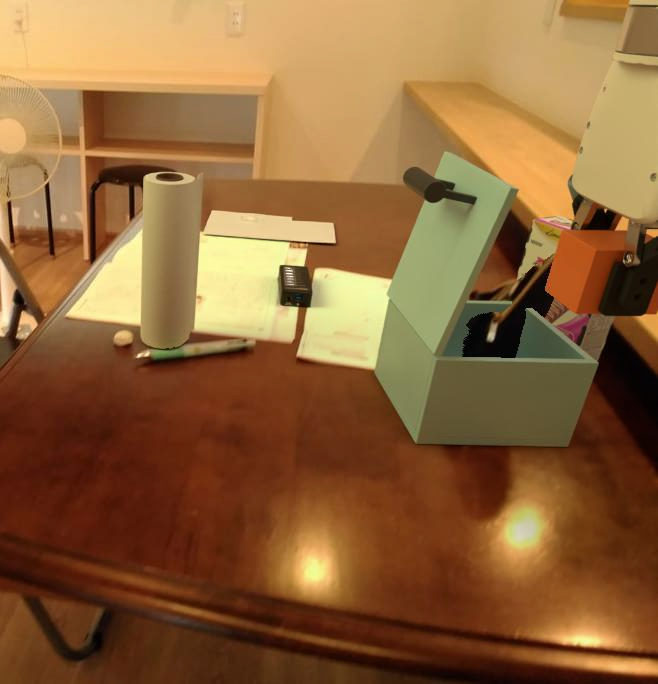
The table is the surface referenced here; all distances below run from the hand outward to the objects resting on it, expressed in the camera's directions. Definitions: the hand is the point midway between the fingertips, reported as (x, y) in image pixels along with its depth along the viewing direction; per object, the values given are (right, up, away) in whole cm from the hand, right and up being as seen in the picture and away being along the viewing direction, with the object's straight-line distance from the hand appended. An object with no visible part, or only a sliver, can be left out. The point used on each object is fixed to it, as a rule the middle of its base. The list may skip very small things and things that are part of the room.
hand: (599, 297), depth 52 cm
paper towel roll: (-32, -3, +37) cm, 49 cm away
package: (0, 0, 0) cm, 0 cm away
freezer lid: (-5, +6, +16) cm, 17 cm away
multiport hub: (-12, +4, +53) cm, 54 cm away
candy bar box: (+17, -5, +37) cm, 41 cm away
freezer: (+1, -11, +24) cm, 26 cm away
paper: (-10, +19, +81) cm, 84 cm away
